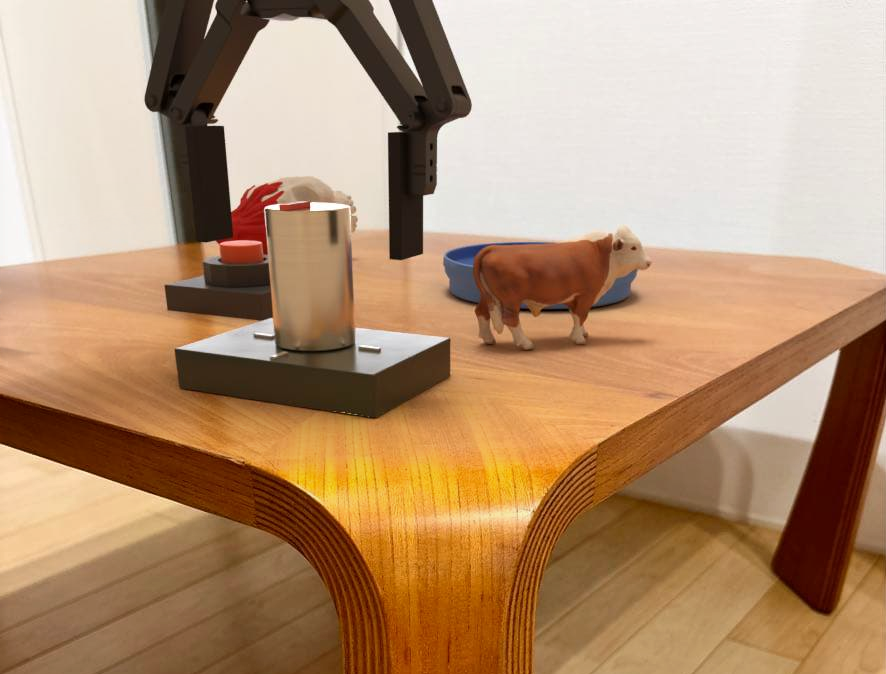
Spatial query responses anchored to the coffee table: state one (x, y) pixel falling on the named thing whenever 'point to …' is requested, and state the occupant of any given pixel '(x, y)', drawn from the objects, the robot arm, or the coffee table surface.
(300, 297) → the knob
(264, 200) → the red cream irregular piece
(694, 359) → the coffee table surface
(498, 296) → the bull figurine
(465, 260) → the bowl
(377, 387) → the dial panel
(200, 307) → the button box
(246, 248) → the button
